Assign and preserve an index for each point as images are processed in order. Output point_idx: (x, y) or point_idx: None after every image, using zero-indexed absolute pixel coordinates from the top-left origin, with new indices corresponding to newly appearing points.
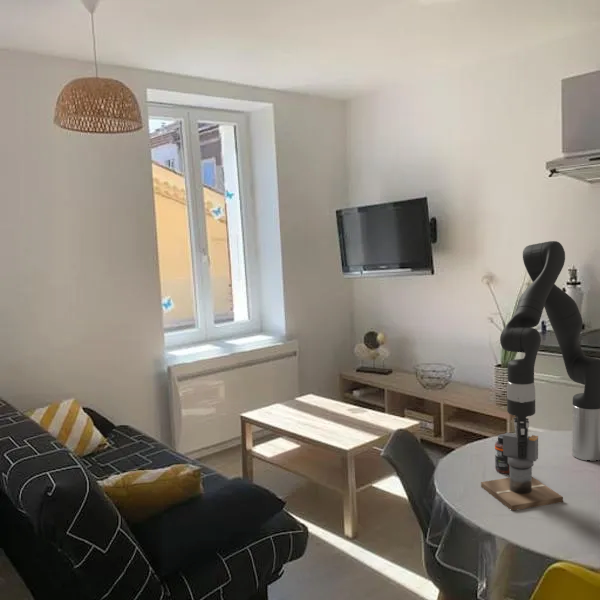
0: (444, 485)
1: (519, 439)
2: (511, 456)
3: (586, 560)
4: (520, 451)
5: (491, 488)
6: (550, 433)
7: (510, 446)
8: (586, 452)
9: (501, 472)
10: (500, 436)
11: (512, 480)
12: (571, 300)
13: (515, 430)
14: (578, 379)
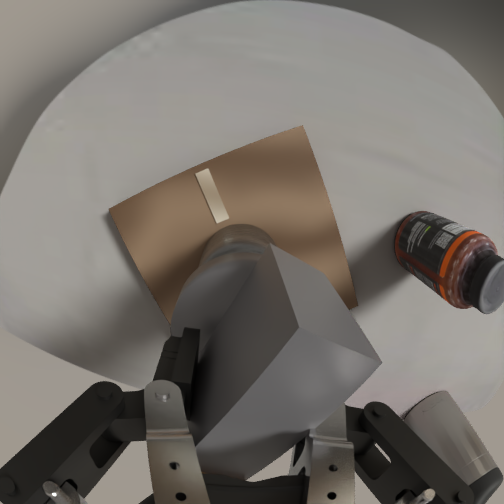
0: (304, 13)
1: (55, 428)
2: (239, 291)
3: None
4: (160, 365)
5: (242, 154)
6: None
7: (244, 324)
8: (416, 423)
9: (401, 224)
10: (500, 271)
11: (217, 243)
12: None
13: (154, 488)
14: None
